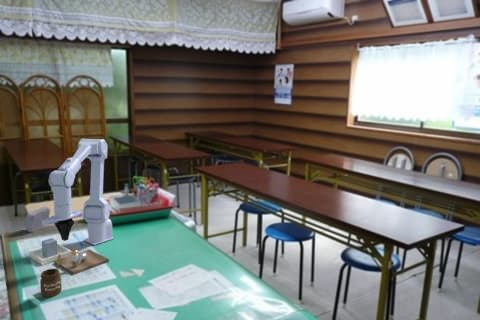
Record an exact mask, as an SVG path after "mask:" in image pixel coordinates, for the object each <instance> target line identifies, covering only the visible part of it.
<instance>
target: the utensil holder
mask: <svg viewBox="0 0 480 320" xmlns="http://www.w3.org/2000/svg"><path fill="white" fill-rule="evenodd" d="M60 258H61V255H60V254H59V255H58V260H57V265H56V267H55V268H47V269H45V268H46V267H49V266H48V264H46V263H45V262H44V261H43V262H44V263H45V265H41V264H38V267H39V270H41V268H42V269H43V270H41V271H40V272H41V274H40V277H41V278H40V280H39V281H40V282H39V284H40V286H39V287H40V294H41V296H42V297H45V298H48V297H49V298H50V297H55V296H57V295H59V294H60V293H62V292H61V291H62V277H61V274H60V270H59V266H58V265H59V263H60ZM40 263H42V262H40ZM44 266H45V267H44Z"/></svg>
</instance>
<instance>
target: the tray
mask: <svg viewBox="0 0 480 320" xmlns="http://www.w3.org/2000/svg"><path fill="white" fill-rule="evenodd" d="M57 249H58V255H59V254H60V255H61V258H64V257H67V256H70V255H72V250H70V249H69V248H67V247H65V246H63V245H61V244H59V243H57ZM58 255H55V256H52V257H49V258H46V257H44V256H43V255H42V247H41V248H38V249H35V250H31V251H29V252H28V258H30V259H31V260H33V261H34V262H36V263H39V264H38V265H40V266H45V265H48V264H52V263H54V261H55V260H58ZM61 258H60V259H61ZM43 261H44V262H45V263H46V264H45V263H44V262H43ZM40 262H42V263H40Z"/></svg>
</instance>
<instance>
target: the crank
mask: <svg viewBox="0 0 480 320" xmlns="http://www.w3.org/2000/svg"><path fill="white" fill-rule="evenodd" d="M71 251H72V264H73V266H78V265H79V264H80V263H81V261H85V260H87V253H86V252H82V251H78V249H72V250H71Z"/></svg>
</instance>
